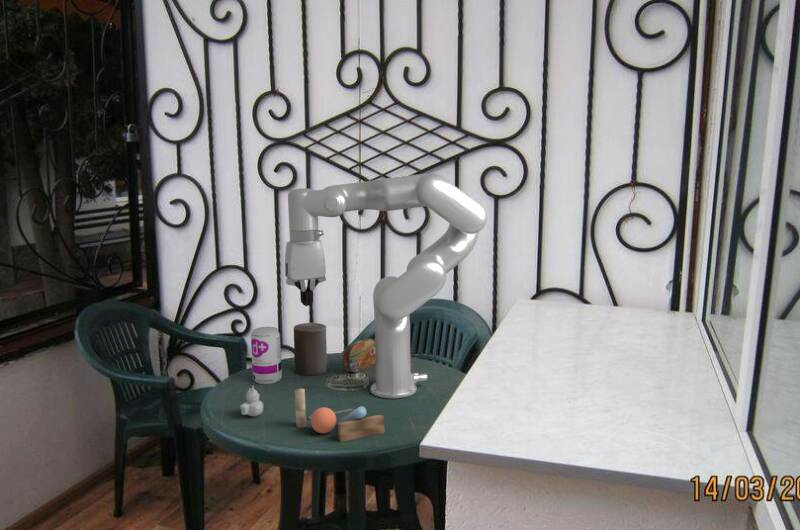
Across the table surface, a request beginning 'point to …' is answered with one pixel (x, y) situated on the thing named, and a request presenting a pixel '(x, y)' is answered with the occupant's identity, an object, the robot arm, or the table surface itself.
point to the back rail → (361, 428)
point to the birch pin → (300, 408)
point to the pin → (355, 414)
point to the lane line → (339, 412)
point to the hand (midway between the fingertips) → (307, 304)
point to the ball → (323, 420)
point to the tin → (359, 355)
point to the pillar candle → (310, 349)
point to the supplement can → (266, 355)
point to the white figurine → (252, 403)
